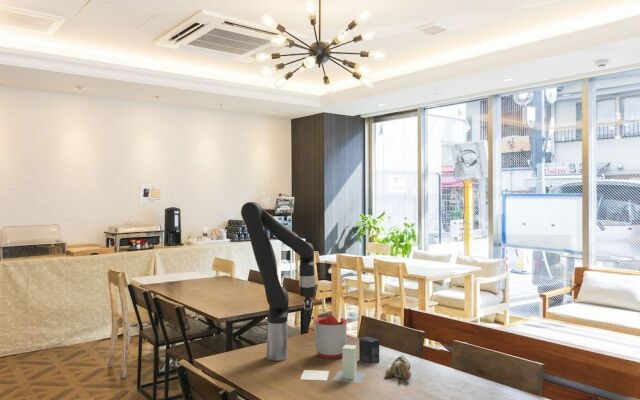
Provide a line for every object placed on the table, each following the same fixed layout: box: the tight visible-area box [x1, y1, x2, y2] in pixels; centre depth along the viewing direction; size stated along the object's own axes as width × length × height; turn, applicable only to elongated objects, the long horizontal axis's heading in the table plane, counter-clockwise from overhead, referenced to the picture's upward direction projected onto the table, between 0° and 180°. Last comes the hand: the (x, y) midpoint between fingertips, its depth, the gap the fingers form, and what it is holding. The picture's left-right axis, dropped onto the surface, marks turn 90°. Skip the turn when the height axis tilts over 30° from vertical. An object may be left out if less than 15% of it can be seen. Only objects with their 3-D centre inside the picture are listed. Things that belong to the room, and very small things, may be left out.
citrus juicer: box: [314, 314, 348, 360], centre depth 235 cm, size 16×17×20 cm
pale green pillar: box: [341, 344, 358, 379], centre depth 204 cm, size 5×5×12 cm
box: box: [358, 336, 380, 364], centre depth 226 cm, size 8×6×11 cm
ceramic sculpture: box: [384, 354, 412, 381], centre depth 207 cm, size 11×9×15 cm
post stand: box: [332, 370, 367, 384], centre depth 204 cm, size 12×12×6 cm
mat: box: [300, 369, 330, 382], centre depth 205 cm, size 11×11×1 cm
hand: (308, 320), depth 228 cm, fingers open, 8 cm apart
